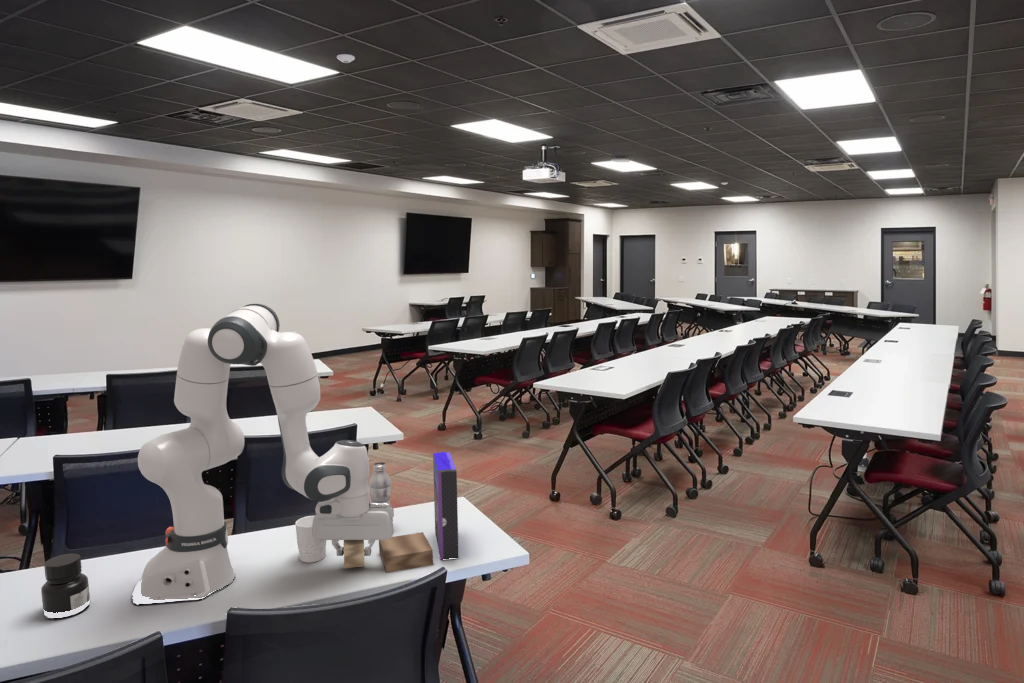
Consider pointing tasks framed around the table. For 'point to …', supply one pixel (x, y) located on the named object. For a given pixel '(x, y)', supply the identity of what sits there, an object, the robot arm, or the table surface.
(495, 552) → the table surface
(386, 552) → the walnut base
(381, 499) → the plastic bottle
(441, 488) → the cereal box
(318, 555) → the white cup
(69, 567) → the ink bottle
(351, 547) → the maple block
